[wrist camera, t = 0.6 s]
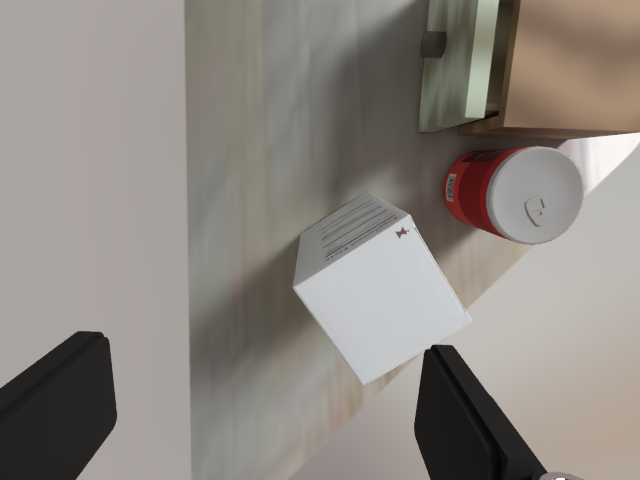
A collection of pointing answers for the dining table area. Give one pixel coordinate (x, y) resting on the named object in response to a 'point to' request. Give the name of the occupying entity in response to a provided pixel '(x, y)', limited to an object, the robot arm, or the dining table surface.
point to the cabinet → (568, 72)
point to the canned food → (516, 192)
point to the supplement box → (375, 287)
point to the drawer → (463, 61)
